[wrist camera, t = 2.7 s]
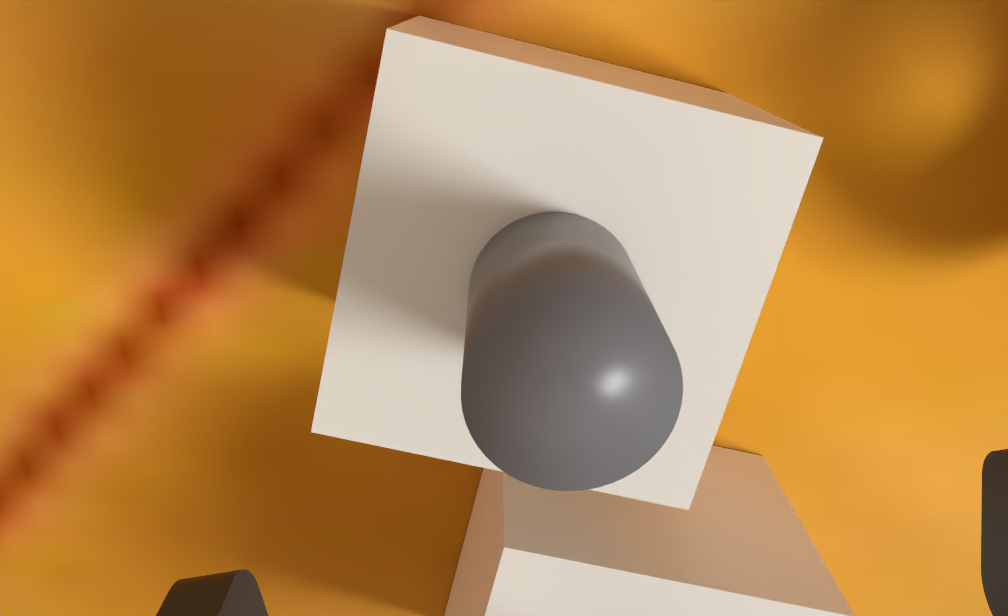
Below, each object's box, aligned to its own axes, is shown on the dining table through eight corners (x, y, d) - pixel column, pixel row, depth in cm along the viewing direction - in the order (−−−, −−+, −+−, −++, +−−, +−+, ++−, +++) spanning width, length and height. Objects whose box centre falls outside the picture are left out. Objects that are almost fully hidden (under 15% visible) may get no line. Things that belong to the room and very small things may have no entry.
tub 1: (637, 371, 28) (744, 662, 16) (360, 310, 28) (255, 568, 15) (726, 92, 25) (940, 192, 13) (419, 15, 25) (346, 45, 12)
